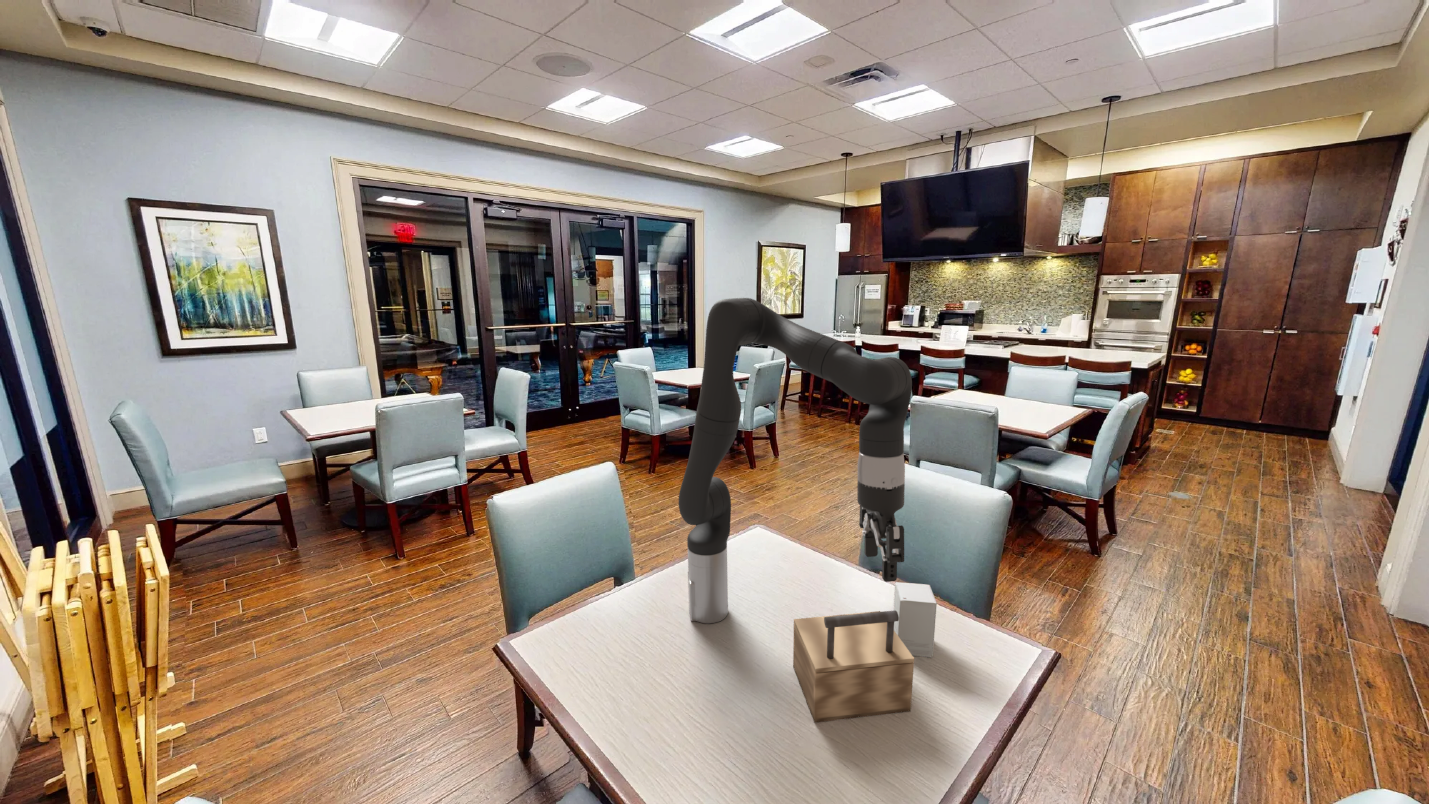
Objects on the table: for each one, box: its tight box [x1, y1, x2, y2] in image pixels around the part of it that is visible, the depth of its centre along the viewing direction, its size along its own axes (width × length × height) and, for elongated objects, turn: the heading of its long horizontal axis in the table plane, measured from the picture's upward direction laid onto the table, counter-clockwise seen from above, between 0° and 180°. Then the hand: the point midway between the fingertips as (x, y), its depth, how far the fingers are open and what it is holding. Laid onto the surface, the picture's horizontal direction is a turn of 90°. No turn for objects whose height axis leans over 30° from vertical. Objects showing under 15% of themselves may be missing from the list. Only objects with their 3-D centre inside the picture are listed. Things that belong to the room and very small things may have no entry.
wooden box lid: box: [793, 609, 915, 673], centre depth 96 cm, size 18×14×9 cm
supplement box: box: [892, 581, 938, 658], centre depth 110 cm, size 7×7×13 cm
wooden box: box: [792, 623, 915, 724], centre depth 98 cm, size 18×14×10 cm
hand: (879, 567), depth 89 cm, fingers open, 8 cm apart
